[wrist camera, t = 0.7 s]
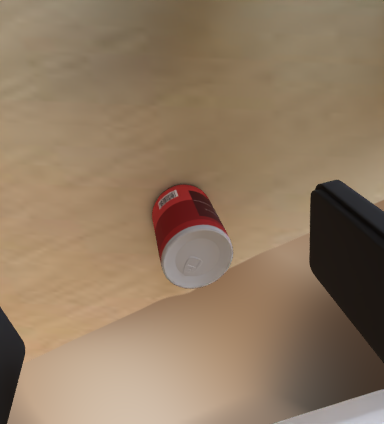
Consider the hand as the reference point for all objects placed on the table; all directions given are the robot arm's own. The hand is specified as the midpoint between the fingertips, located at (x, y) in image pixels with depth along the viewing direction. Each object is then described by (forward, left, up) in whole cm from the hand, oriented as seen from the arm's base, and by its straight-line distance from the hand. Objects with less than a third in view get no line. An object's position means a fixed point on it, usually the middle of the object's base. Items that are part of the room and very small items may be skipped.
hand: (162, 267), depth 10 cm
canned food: (+15, +7, -31) cm, 35 cm away
